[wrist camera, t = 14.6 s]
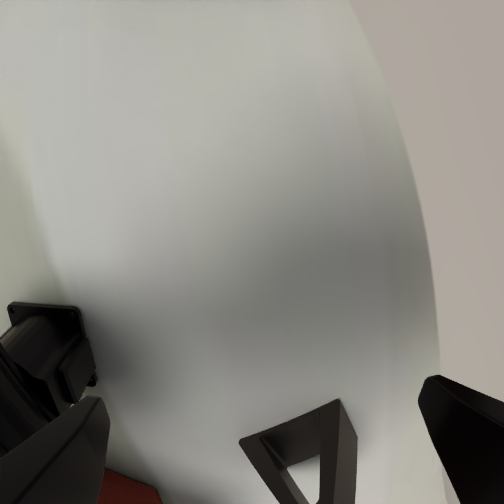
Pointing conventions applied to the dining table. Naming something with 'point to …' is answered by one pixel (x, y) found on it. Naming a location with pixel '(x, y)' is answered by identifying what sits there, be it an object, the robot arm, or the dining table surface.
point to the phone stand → (308, 454)
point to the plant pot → (125, 491)
